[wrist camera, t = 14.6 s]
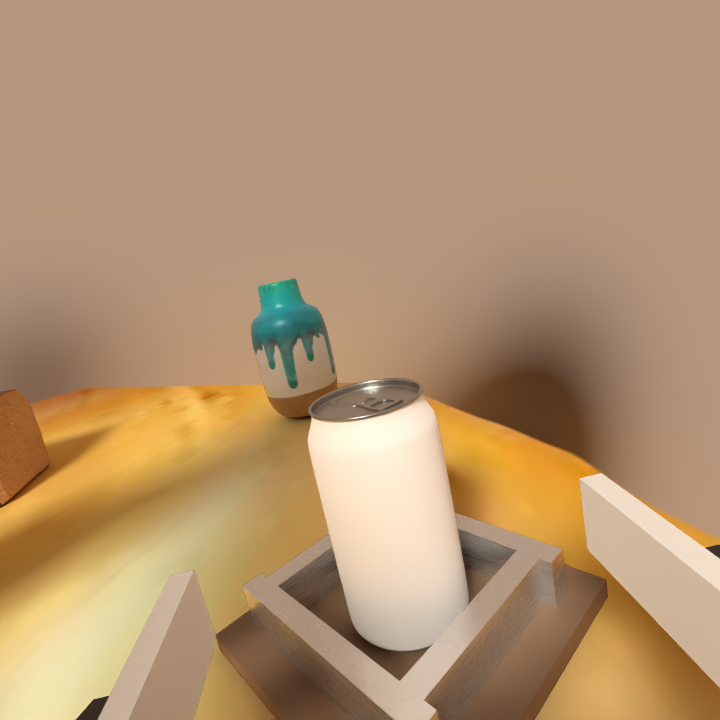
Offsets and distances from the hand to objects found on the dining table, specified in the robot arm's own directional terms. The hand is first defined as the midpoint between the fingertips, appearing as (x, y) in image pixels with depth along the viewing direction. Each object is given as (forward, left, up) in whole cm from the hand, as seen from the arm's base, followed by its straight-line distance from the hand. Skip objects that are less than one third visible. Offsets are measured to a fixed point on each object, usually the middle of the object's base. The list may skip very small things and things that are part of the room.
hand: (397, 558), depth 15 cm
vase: (-43, +24, -10) cm, 50 cm away
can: (-6, +5, -9) cm, 12 cm away
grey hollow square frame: (-6, +4, -10) cm, 12 cm away
